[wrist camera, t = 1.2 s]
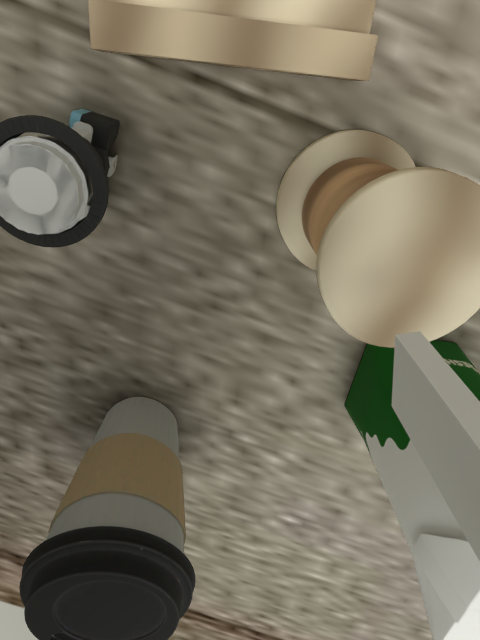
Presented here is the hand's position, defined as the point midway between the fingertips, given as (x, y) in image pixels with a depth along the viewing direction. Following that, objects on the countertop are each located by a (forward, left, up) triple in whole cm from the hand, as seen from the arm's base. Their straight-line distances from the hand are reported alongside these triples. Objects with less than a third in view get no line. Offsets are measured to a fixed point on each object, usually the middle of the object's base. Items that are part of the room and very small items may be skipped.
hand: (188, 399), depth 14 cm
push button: (-7, +4, -18) cm, 19 cm away
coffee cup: (-4, -16, -18) cm, 24 cm away
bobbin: (+9, +3, -17) cm, 20 cm away
